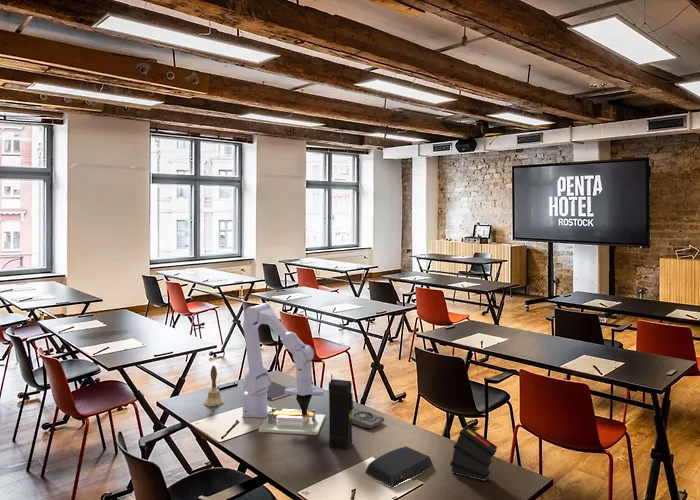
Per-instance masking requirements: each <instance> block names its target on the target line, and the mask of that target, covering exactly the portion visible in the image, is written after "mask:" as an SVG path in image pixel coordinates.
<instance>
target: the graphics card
mask: <svg viewBox="0 0 700 500" xmlns="http://www.w3.org/2000/svg"><path fill="white" fill-rule="evenodd" d="M382 422H385V417H383V416H380V415H378V414H375V413H372V412H370V411H366V410H364V409H362V408H358V407H356V405H355V404H353V410H352V424H354V425H357V426H358V427H359V426H360V427H362V428H365V429H367V428H369V429H373V427H376V426H379V425H380V424H381V423H382Z"/></svg>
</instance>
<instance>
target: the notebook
mask: <svg viewBox="0 0 700 500" xmlns="http://www.w3.org/2000/svg"><path fill="white" fill-rule="evenodd" d="M243 387H244V389H245V385H244V386H243ZM286 388H288V387H287V386H284V385H282V384H280V383H277V382H275V381H272V380H271V384H270V386H269V387H268V390H267V400H269V401H274V400H276V399H280V398H283V397H287V396H288V395H285V389H286Z"/></svg>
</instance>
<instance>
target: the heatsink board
mask: <svg viewBox="0 0 700 500" xmlns="http://www.w3.org/2000/svg"><path fill="white" fill-rule="evenodd" d="M272 410H274V411H277V408H276V407H272V408H271V411H270V412H269V413H268V415H267V416H266V417H265V418H264V421H263V422H262V423H261V425H260V426H259V428H258V433H259V432H260V433H277V434H295V435H297V434H298V435H312V436H313V435H314V436H318V434H319V432H320V430H321V428H322V426H323V423H324V421H325V419H326V414H322V413H320V414H318V413H316V409H315V408H314V409H313V408H312V409H311V412H314V416H313V417H303V416H282V415H278V416H273V413H271V412H272ZM281 411H291V412H301V409H291V408H290V409H289V408H282V410H281ZM307 412H309V410H307Z"/></svg>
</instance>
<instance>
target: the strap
mask: <svg viewBox="0 0 700 500" xmlns="http://www.w3.org/2000/svg"><path fill="white" fill-rule="evenodd" d="M270 412H271V413H273V416H278V415H282V416H303V417H313V416H314V412H312V411H308V412H307V414H306V415H302V412H291V411H282V410H276V411H274V410H272V409H271V411H270Z"/></svg>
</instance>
